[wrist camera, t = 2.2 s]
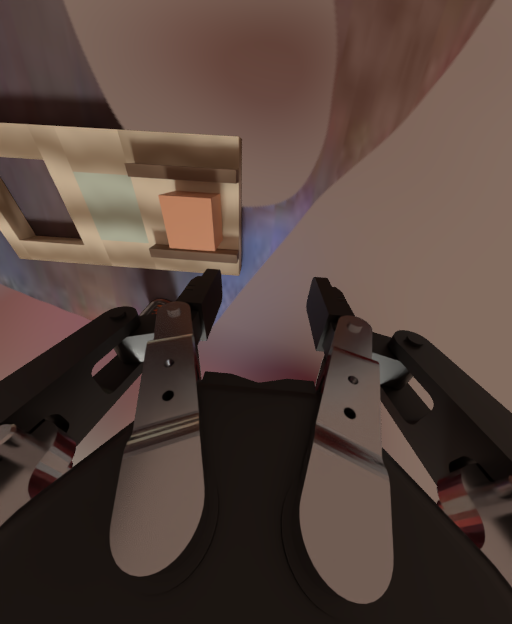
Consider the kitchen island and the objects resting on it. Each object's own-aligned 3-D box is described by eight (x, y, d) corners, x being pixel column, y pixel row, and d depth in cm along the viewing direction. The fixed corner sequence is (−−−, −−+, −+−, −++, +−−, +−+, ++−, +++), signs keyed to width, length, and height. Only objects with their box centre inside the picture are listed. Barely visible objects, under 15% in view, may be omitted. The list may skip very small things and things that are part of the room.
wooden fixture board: (-50, 122, 23) (-108, 114, 20) (241, 139, 22) (235, 134, 19) (35, 252, 33) (6, 263, 29) (241, 268, 32) (237, 281, 28)
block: (175, 190, 24) (158, 195, 20) (220, 193, 24) (210, 198, 20) (183, 236, 27) (169, 247, 23) (222, 239, 27) (214, 251, 23)
